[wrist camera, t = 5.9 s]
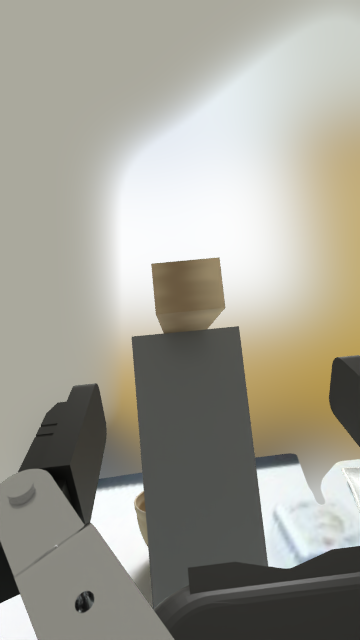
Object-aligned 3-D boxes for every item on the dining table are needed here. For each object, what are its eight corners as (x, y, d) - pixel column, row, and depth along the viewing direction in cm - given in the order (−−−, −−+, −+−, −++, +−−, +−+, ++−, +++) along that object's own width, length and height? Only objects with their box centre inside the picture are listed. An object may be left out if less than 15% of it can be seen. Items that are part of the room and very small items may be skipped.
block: (156, 314, 19) (151, 263, 20) (168, 345, 49) (166, 324, 49) (225, 307, 19) (219, 257, 20) (196, 342, 49) (193, 322, 49)
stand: (169, 807, 26) (131, 336, 31) (172, 619, 46) (149, 347, 50) (295, 790, 26) (238, 326, 31) (245, 610, 46) (215, 341, 51)
